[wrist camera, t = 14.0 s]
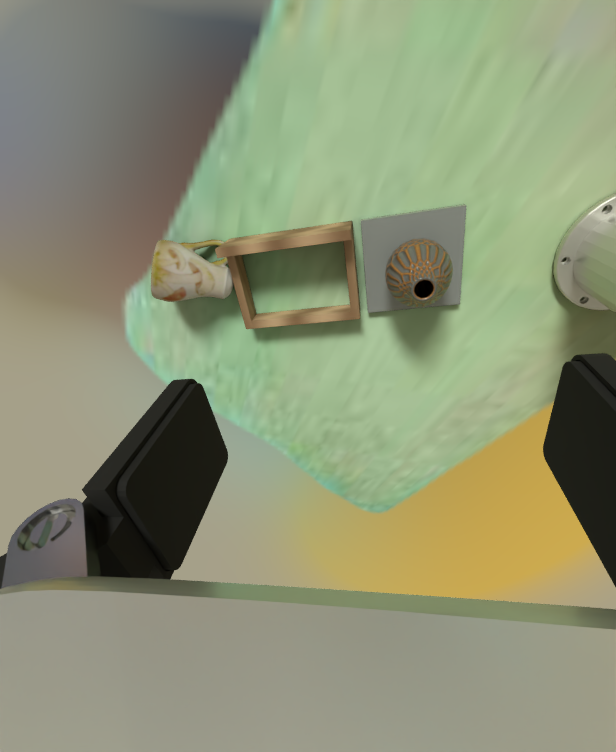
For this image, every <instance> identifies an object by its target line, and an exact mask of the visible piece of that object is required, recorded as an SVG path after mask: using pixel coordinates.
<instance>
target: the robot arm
mask: <svg viewBox="0 0 616 752" xmlns="http://www.w3.org/2000/svg"><path fill="white" fill-rule="evenodd" d="M604 207H605V209H604V210H603V208H604ZM563 258H565V259H564V260H563V261H562V259H563ZM553 273H554V278H555V283H556V285H557V287H558V289H559V290H560V292H561V293H562V294H563V295H564V296H565V297H566V298H567V299H569V300H570V301H571V302H572V303H574V304H576V305H578V306H580V307H583V308H587V309H591V310H612V311H613V312H615V313H616V193H615V194H613V195H611V196H609V197H607V198H605V199H603V200H601V201H600V202H598V203H597V204H595V205H594V206H592V207H591V208H589V209H588V210H587V211H586V212H585V213H584V214H582V215H581V216H580V217H579V218H578V219H577V220H576V221H575V222H574V224H573V225H572V226H571V227H570V228H569V229H568V231H567V233H566V234H565V236H564V237H563V239H562V240H561V242H560V245H559V247H558V249H557V251H556V255H555V259H554V270H553ZM543 452H544V457H545V460H546V462H547V464H548V466H549V467H550V469H551V471H552V472H553V475H554V476H555V478H556V480H557V482H558V484H559V485H560V487H561V489H562V491H563V493H564V494H565V496H566V498H567V500H568V502H569V503H570V505H571V507H572V509H573V511H574V512H575V514H576V516H577V518H578V520H579V522H580V523H581V525H582V527H583V529H584V531H585V532H586V534H587V536H588V538H589V540H590V541H591V543H592V545H593V547H594V549H595V550H596V552H597V554H598V556H599V558H600V560H601V561H602V563H603V565H604V567H605V569H606V570H607V572H608V574H609V576H610V578H611V579H612V581H613V583H614V585H615V587H616V361H615V360H614V359H613V358H612V357H611V356H610V355H608V354H605V353H601V354H585V355H576V356H574V357H573V359H572V360H571V362H566V363H565V364H564V366H563V368H562V372H561V376H560V380H559V385H558V389H557V393H556V397H555V401H554V405H553V409H552V413H551V417H550V421H549V425H548V429H547V433H546V437H545V441H544V446H543ZM227 460H228V452H227V449H226V446H225V444H224V441H223V439H222V436H221V433H220V430H219V428H218V425H217V422H216V420H215V417H214V415H213V412H212V409H211V407H210V404H209V401H208V399H207V396H206V393H205V391H204V388H203V386H202V385H201V384H199V383H197V382H196V381H195V380H194V379H182V380H173V381H172V382H171V383H170V384H169V385H168V386H167V388H166V389H165V390H164V391H163V392H162V394H161V395H160V396H159V397H158V399H157V400H156V401H155V402H154V403H153V404H152V406H151V407H150V408H149V409H148V410H147V412H146V413H145V414H144V415H143V417H142V418H141V419H140V420H139V421H138V423H137V424H136V425H135V426H134V427H133V429H132V430H131V431H130V432H129V433H128V435H127V436H126V437H125V438H124V439H123V441H122V442H121V443H120V444H119V445H118V447H117V448H116V449H115V450H114V452H113V453H112V454H111V455H110V456H109V458H108V459H107V460H106V461H105V462H104V464H103V465H102V466H101V467H100V468H99V470H98V471H97V472H96V473H95V474H94V476H93V477H92V478H91V479H90V480H89V482H88V483H87V484H86V485H85V487H84V488H83V489H82V491H83V492H84V493H85V495H86V496H87V498H86V499H85V500H84V502H83V503H81V502H80V501H78V500H77V499H70V498H68V499H62V500H58V501H55V502H53V503H50V504H48V505H46V506H44V507H43V508H41V509H39V510H37V511H36V512H35V513H33V514H32V515H31V516H30V517H28V518H27V519H26V520H25V521H24V522H23V523H22V524H21V525H20V526H19V527H18V528H17V530H16V531H15V533H14V534H13V535H12V537H11V540H10V542H9V545H8V551H7V553H6V554H5V555H3V556H1V557H0V752H616V610H613V609H602V608H590V607H577V606H563V605H562V606H561V605H549V604H533V603H521V602H507V601H493V600H479V599H464V598H450V597H435V596H422V595H405V594H392V593H391V594H389V593H377V592H376V593H375V592H362V591H347V590H331V589H316V588H299V587H285V586H269V585H252V584H236V583H219V582H203V581H186V580H170V579H171V576H172V574H173V572H174V570H177V569H178V568H179V567H180V566H181V564H182V562H183V560H184V558H185V556H186V553H187V551H188V549H189V546H190V544H191V542H192V540H193V538H194V535H195V533H196V531H197V529H198V526H199V524H200V522H201V520H202V518H203V515H204V513H205V511H206V509H207V506H208V504H209V502H210V500H211V497H212V495H213V493H214V491H215V488H216V486H217V484H218V482H219V479H220V477H221V475H222V473H223V470H224V468H225V466H226V464H227Z"/></svg>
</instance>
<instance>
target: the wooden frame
mask: <svg viewBox="0 0 616 752" xmlns="http://www.w3.org/2000/svg"><path fill="white" fill-rule="evenodd" d="M339 241H344V250H345V259H346V269H347V279H348V288H349V298H350V305H341V306H331V307H321V308H311V309H301V310H291V311H281V312H271V313H261V314H256V310H255V306H254V302H253V298H252V294H251V290H250V286H249V282H248V278H247V274H246V271H245V267H244V263H243V259H242V255H244V254H251V253H258V252H266V251H273V250H280V249H288V248H295V247H302V246H310V245H317V244H324V243H332V242H339ZM215 251H216V254H217V258H222V257H226V258H227V261H228V265H229V269H230V272H231V276H232V279H233V283H234V287H235V290H236V294H237V298H238V301H239V305H240V309H241V312H242V316H243V319H244V323H245V327H246V329H253V328H264V327H275V326H286V325H297V324H308V323H319V322H330V321H341V320H352V319H360V302H359V291H358V280H357V269H356V258H355V246H354V235H353V224H352V221H348V222H341V223H334V224H327V225H321V226H314V227H307V228H300V229H293V230H287V231H280V232H273V233H266V234H259V235H253V236H246V237H239V238H232V239H229V240H227V241H226V242H224V243H223V244H221V245H220V246H219V247H217V248H216V249H215Z"/></svg>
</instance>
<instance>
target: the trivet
mask: <svg viewBox="0 0 616 752" xmlns="http://www.w3.org/2000/svg"><path fill="white" fill-rule="evenodd" d="M465 217H466V205H465V204H463V205H456V206H449V207H443V208H436V209H429V210H422V211H416V212H409V213H402V214H395V215H388V216H382V217H375V218H368V219H361V228H362V241H363V254H364V267H365V280H366V293H367V305H368V313H370V312H380V311H391V310H402V309H412V308H423V307H410V306H407V305H404V304H402V303H400V302H399V301H397V300H396V299H395V298H394V297H393V296H392V294H391V293H390V291H389V290H388V287H387V284H386V279H385V270H386V265H387V262H388V260H389V258H390V256H391V254H392V253H393V252H394V251H395V250H396V248H398V247H399V246H400V245H401V244H403V243H405V242H407V241H409V240H412V239H419V238H424V239H430V240H433V241H435V242H437V243H438V244H440V245H441V246H442V247H443V248H444V249H445V250H446V251H447V253H448V254H449V256H450V259H451V261H452V267H453V275H452V280H451V283H450V286H449V288H448V289H447V291H446V292H445V294H444V295H443V296H442V297H441V298H440V299H439V300H437V301H436V302H434V303H432V304H430V305H427V306H424V307H434V306H445V305H455V304H460V295H461V279H462V264H463V248H464V233H465Z"/></svg>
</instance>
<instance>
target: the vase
mask: <svg viewBox="0 0 616 752" xmlns="http://www.w3.org/2000/svg"><path fill="white" fill-rule="evenodd" d="M452 275H453V267H452V261H451V259H450V256H449V254H448V253H447V251H446V250H445V249H444V248H443V247H442V246H441V245H440V244H438V243H437V242H435V241H433V240H430V239H424V238H419V239H412V240H409V241H407V242H405V243H403V244H401V245H400V246H399V247H398V248H396V250H395V251H394V252H393V253H392V254H391V256H390V258H389V260H388V262H387V265H386V270H385V279H386V284H387V287H388V290H389V291H390V293H391V294H392V296H393V297H394V298H395V299H396V300H397V301H399V302H400V303H402V304H404V305H407V306H410V307H424V306H427V305H430V304H432V303H434V302H436V301H437V300H439V299H440V298H441V297H442V296H443V295H444V294H445V292H446V291H447V289H448V288H449V286H450V283H451V280H452Z"/></svg>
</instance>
